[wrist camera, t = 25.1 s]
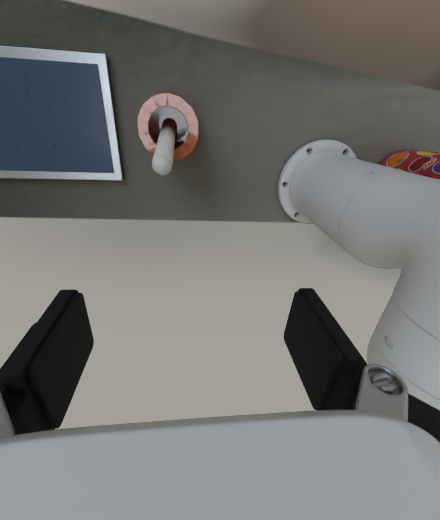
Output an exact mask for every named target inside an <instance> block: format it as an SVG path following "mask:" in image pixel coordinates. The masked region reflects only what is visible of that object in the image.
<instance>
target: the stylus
mask: <svg viewBox="0 0 440 520" xmlns="http://www.w3.org/2000/svg"><path fill="white" fill-rule="evenodd" d="M175 136H176V123H175V121H174V120H173V119H171V118H166V119H165V120H164V121H163V123H162V126H161V130H160V134H159V138H158V141H157V145H156V149H155V153H154V157H153V160H152V167H153V169H154V171H155V172H156V173H157V174H160V175H166V174H168V173H169V172H170V171H171V169H172V163H173V154H174V145H175Z"/></svg>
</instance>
